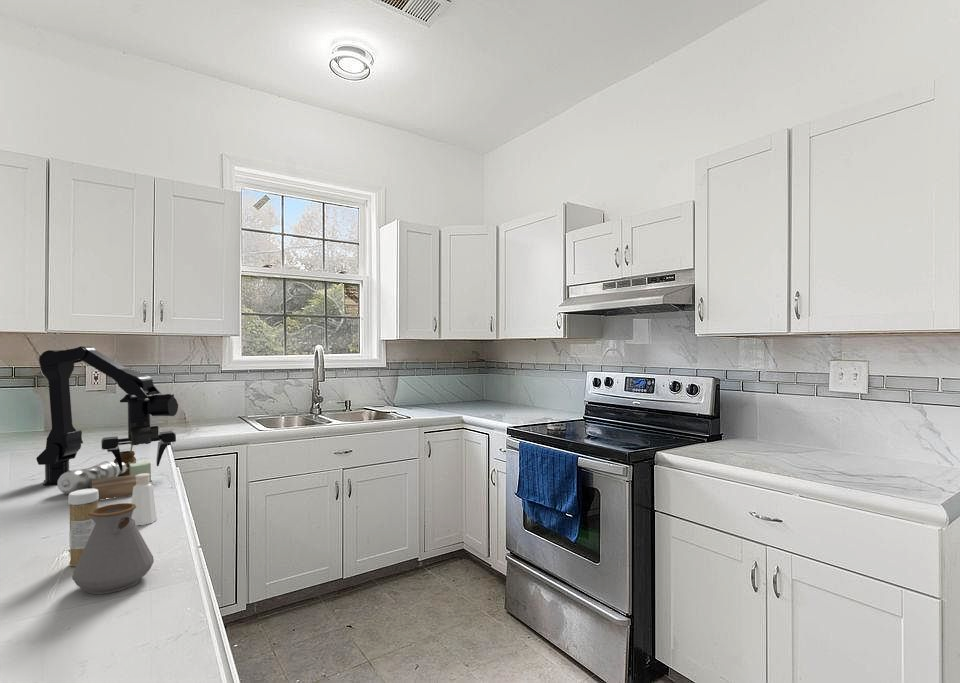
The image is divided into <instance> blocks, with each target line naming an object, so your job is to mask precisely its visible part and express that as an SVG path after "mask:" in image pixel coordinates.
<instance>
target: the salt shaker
mask: <svg viewBox="0 0 960 683" xmlns="http://www.w3.org/2000/svg"><path fill="white" fill-rule="evenodd" d="M149 477H150V474H148V473H142V474H138V475H136V486H134V487H133V494H132V496H131V503H132V504H135V505H136V508H135V509H134V510H133V513H132V517H131V518H132V519H133V520H134V521H135V525H136V527H137V526H138V525H142V526H146V524H147V525H149V524H150V523H151V524H153V523H155V522H157V521H158V517H157V510H156V509H157V508H156V502H155V495H154V486H153V484H151V483H150V481H149V479H150V478H149ZM154 521H155V522H154ZM138 527H139V526H138Z"/></svg>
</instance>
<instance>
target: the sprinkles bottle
mask: <svg viewBox="0 0 960 683" xmlns="http://www.w3.org/2000/svg"><path fill="white" fill-rule="evenodd" d="M67 495H68V497H67V498H68V499H67V500H68V502H67V503H68V504H69V505H68V506H69V552H70V553H69V554H70V556H69V557H70V559H69V560H70V561H69V565H70V566H71V567H76V566H77V563H78V561H79V559H80V557H81V555H82V552H83V550H84V548H85V546H86V544H87V541H88V539H89V537H90V535H91V533H92V531H93V528H94V526H95V524H96V523H95V522H94V521H93V519H92V518H91V517H90V516H89V515H88V513H89V512H91V511H92V510H94V509H97V508H99V507H98V506H99V505H98V502H99V501H98V499H99V493H98V490H97V489H92V488H85V489H82V490H77V491H74V492H71V493H70V494H67Z"/></svg>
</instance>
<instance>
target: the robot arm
mask: <svg viewBox="0 0 960 683" xmlns="http://www.w3.org/2000/svg"><path fill="white" fill-rule="evenodd" d="M38 362H39V367H40V371H41V373H42V374H43V375H44V377H45V378H46V379H47V381H48V383H47V384H48V392H49V393H48V395H49V408H50V419H51V420H50V421H51V422H50V423H51V429H50V431H49V433H48V435H47V436H46V442H45V449H44V450H42V451H41V452H40V454H39V455H37V457H36V458H35V460H36V461H37V464H38V466H39V465H41V466H43V465H44V477H45V478H44V479H43V483H42V486H49V485H57V482H58V479H59V477H60V476H61V475H62V474H63V473H65V472H68V471H70V460H72V459H75V458H76V456H77V453H78V452H79V451H80V450H81V448H82V444H83V443H84V441H83V440H82V436H83V435H82V434H83V432H82V430H77V429H76V428H75V427H74V425H73V416H72V415H73V414H72V403H71V402H72V401H71V390H70V389H71V387H70V377H71V375H72V373H73V372H74V369H75V364H77V363H81V362H84V363H86V364H87V365H89V366H91V367H92V368H94V369H95V370H98V372H101V373H102V374H104V375H105V376H108V378H111V379H112V380H114V382H116V384H117V385H118V388H120V389H121V390H122V391H123V392H125V395H124V397H123V398H120V400H119V402H120V403H127V437H123V438H119V437H118V436H105V437H102V438H101V440H100V442H101V443H100V445H101V450H103V451H104V450H107V451H106V452H108V453H110V452H111V453H112V454H113V456H114V458H115V459H116V460H117V462H118V465H119V467H120V470H121V471H122V461H121V455H120V452H121V451H120V449H121V448H120V446H122V445H123V446H124V445H131V444H132V445H133V446H138V445H149V444H151V443H152V442H157V448H156V449H157V452H156V460H155V461H156V467H159V466H160V463H161V460H162V457H163V454H164V452H165V451H166V448H167V447H168V446H170V445H172V443H175V442H176V441H177V434H176V433H175V432H174V431H172V430H168V431H159V426H158V425H155V426H154V425H152V426H151V416H152V417H174V416H176V414H177V413H178V411H179V403H178V401H177V398H175V394H174V393H166V394H163V393H161V391H160V390H159V389H158V388H157V386H155V384H154V382H153V378H152V377H151V376H149V375H147V374H145V373H142V372H140V371H137V370H132V369H129V368H127V367H125V366H123V365H121V364H120V363H119V362H116V361H115V360H114V359H111V358H110V357H108V356H107V355H105V354H103V353H102V352H100V351H98V350H97V349H96V348H95V347H93V346H89V345H87V346H84V345H82V346H78V347H75V348H74V347H73V348H69V349H48V350H46V351H43V352H42V354H40V355H39V358H38Z"/></svg>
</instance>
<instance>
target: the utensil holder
mask: <svg viewBox="0 0 960 683" xmlns="http://www.w3.org/2000/svg"><path fill="white" fill-rule="evenodd" d="M130 446H131V447H130V450H125V449H124V445H121V446H120V448H119V449H120V455H121V461H122V462H123V463H125V464H126V466H127V469H126V471H125V472H124V473H122V474H120V475H118V476H117V477H119V476H127V475H130V464H133V463H137V459H136V456H135V455H136V452H135V451H134V450H133V447H134V445H132V444H130ZM124 450H125V451H124ZM113 462H114V463H118V462H117V460H116V458H115V459H114V460H113Z"/></svg>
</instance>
